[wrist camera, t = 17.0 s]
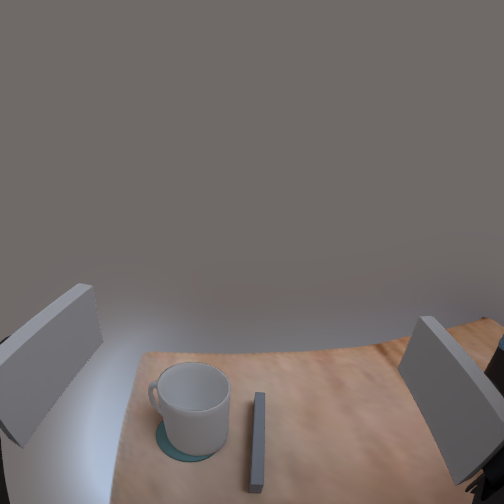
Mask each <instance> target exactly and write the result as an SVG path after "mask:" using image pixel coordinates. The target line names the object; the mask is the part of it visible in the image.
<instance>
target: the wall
mask: <svg viewBox="0 0 504 504" xmlns="http://www.w3.org/2000/svg"><path fill="white" fill-rule="evenodd" d="M264 444H265V393H261V392H255V399H254V407H253V426H252V443H251V460H250V477H249V493H261V491H262V488H263V485H264Z"/></svg>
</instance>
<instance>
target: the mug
mask: <svg viewBox="0 0 504 504" xmlns="http://www.w3.org/2000/svg"><path fill="white" fill-rule="evenodd" d="M154 388H156V389H157V392H158V397H159V402H160V407H161V408H160V407H159V406H158V404H157V403H156V401H155V399H154V396H153V389H154ZM230 392H231V387H230V382H229V380H228V378H227V376H226V375H225V374H224V373H223V372H222V371H220V370H219V369H217V368H216V367H213V366H211V365H208V364H204V363H199V362H187V363H180V364H177V365H174V366H171V367H170V368H168V369H166V370H165V371H164V372H163V373H162V374H161V375H160V377H159V378H158V380H157V381H154V382H152V383H150V385H149V387H148V395H149V399H150V402H151V404H152V406H153V407H154V409H155V410H156V411H157V412H158V413H159V414H161V415H162V417H163V421H164V425H165V430H166V433H167V437H168V439H169V441H170V442H171V444H172V445H173V446H174V447H175V448H176V449H177V450H179V451H181V452H183V453H185V454H188V455H193V456H204V455H209V454H212V453H214V452H216V451H218V450H219V449H220V448H221V447H223V445H224V443H225V442H226V439H227V435H228V426H229V409H230Z"/></svg>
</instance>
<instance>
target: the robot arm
mask: <svg viewBox="0 0 504 504" xmlns="http://www.w3.org/2000/svg"><path fill="white" fill-rule="evenodd" d="M102 343H103V338H102V334H101V329H100V324H99V319H98V314H97V308H96V302H95V297H94V290H93V286H91V285H86V284H81V283H78V284H77V285H76V286H74V287H73V288H72V289H70V290H69V291H68V292H66V293H65V294H63V295H62V296H61V297H59V298H58V299H57V300H55V301H54V302H53V303H51V304H50V305H49V306H47V307H46V308H45V309H43V310H42V311H41V312H40V313H38V314H37V315H36V316H35V317H33V318H32V319H31V320H30V321H28V322H27V323H26V324H25V325H23V326H22V327H21V328H20V329H19V330H17V331H16V332H15V333H14V334H12V335H11V336H9V337H6V338H5V339H4V340H2V341H1V342H0V428H1V429H2V431H3V432H4V433H5V434H6V436H7V437H8V438H9V439H10V440H12V441H13V442H14V443H15V444H17V445H18V446H20V447H21V448H24V447H25V445H26V444H27V442H28V441H29V439H30V438H31V436H32V435H33V433H34V432H35V431H36V429H37V428H38V426H39V425H40V423H41V422H42V421H43V419H44V418H45V417H46V415H47V414H48V412H49V411H50V409H51V408H52V407H53V405H54V404H55V403H56V401H57V400H58V399H59V397H60V396H61V395H62V393H63V392H64V391H65V389H66V388H67V387H68V386H69V384H70V383H71V382H72V380H73V379H74V378H75V377H76V375H77V374H78V373H79V371H80V370H81V369H82V368H83V366H84V365H85V364H86V363H87V361H88V360H89V359H90V358H91V356H92V355H93V354H94V352H95V351H96V350H97V349H98V348H99V347H100V345H101V344H102ZM398 370H399V372H400V374H401V376H402V378H403V379H404V381H405V383H406V385H407V387H408V388H409V390H410V392H411V394H412V396H413V398H414V400H415V401H416V403H417V405H418V407H419V409H420V411H421V413H422V415H423V417H424V419H425V421H426V423H427V425H428V427H429V429H430V431H431V433H432V435H433V437H434V439H435V441H436V443H437V445H438V447H439V449H440V452H441V454H442V456H443V458H444V460H445V463H446V465H447V467H448V469H449V472H450V474H451V476H452V479H453V481H454V483H455V486H457V485H459V484H461V483H463V482H465V481H467V480H469V479H471V478H472V477H473V476H474V475H475V474H476V473H477V472H479V471H480V470H481V469H483V471H484V472H483V473H482V474H481V475H480V476H479V477H478V478H477V479H476V480H474V481H473V482H472V483H471V484H470V485H469V486H468V487H467V488H466V490H465V492H468V491H469V490H470V489H472V488H473V487H474V486H475V485H477V486H476V487H475V488H474V489H473V490H472V491H471V492H470V493H473V494H475V495H474V499H473V502H472V504H504V334H503V336H502V338H501V339H500V340H499V343H498V347H497V349H496V351H495V353H494V355H493V357H492V359H491V361H490V363H489V364H488V366H487V368H486V370H485V371H484V373H483V371H482V370H481V369H480V368H479V367H478V365H477V364H476V363H475V362H474V361H473V360H472V358H471V357H470V356H469V355H468V354H467V353H466V352H465V350H464V349H463V348H462V347H461V346H460V345H459V344H458V343H457V342H456V340H455V339H454V338H453V337H452V336H451V335H450V334H449V333H448V332H447V331H446V330H445V329H444V327H442V325H441V324H440V323H439V322H438V321H437V320H436V319H435V318H434V317H433V316H419V317H418V320H417V323H416V326H415V329H414V331H413V333H412V336H411V339H410V341H409V344H408V346H407V348H406V351H405V353H404V355H403V358H402V360H401V362H400V364H399V367H398ZM0 504H10V502H9V497H8V492H7V487H6V482H5V476H4V470H3V460H2V451H1V439H0Z"/></svg>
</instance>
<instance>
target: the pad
mask: <svg viewBox="0 0 504 504" xmlns="http://www.w3.org/2000/svg"><path fill="white" fill-rule="evenodd" d="M156 438H157V442H158V445H159V447H160V448H161V449H162V451H163V452H164V453H165V454H167V455H168V456H170V457H171V458H173V459H176V460H179V461H183V462H197V461H201V460H204V459H207V458H209V457H210V456H212V455H213V454H214V453H215V452H214V453H212V454H209V455H204V456H193V455H188V454H185V453H183V452H181V451H179V450H177V449H176V448H175V447H174V446H173V445H172V444H171V442H170V441H169V439H168V437H167V433H166V430H165V425H164V421H162V422H161V423H160V425H159V426H158V428H157V432H156Z"/></svg>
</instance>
